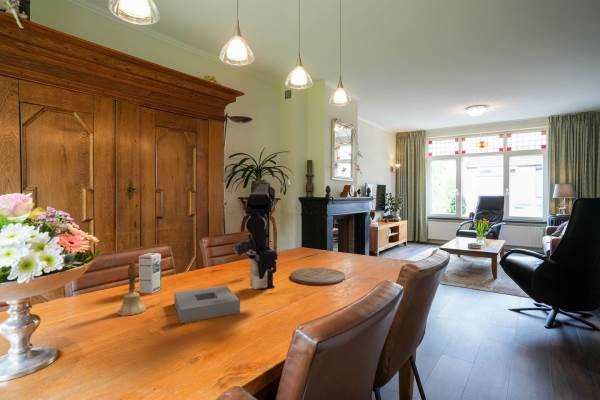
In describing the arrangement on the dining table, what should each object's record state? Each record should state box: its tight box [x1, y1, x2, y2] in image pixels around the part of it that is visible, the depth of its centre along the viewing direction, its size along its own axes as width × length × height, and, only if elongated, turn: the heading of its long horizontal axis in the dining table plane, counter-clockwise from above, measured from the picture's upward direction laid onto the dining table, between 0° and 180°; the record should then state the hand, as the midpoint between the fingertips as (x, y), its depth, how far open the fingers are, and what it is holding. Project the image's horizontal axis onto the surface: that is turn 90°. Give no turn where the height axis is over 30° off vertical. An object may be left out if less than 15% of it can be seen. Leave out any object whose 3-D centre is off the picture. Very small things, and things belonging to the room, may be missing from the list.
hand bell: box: [116, 261, 147, 317], centre depth 102 cm, size 8×8×16 cm
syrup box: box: [138, 252, 163, 294], centre depth 122 cm, size 6×6×14 cm
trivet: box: [289, 267, 346, 286], centre depth 144 cm, size 25×25×2 cm
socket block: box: [173, 285, 241, 324], centre depth 105 cm, size 18×18×4 cm
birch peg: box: [249, 259, 267, 290], centre depth 105 cm, size 4×4×9 cm
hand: (258, 277), depth 105 cm, fingers closed on birch peg, 4 cm apart
